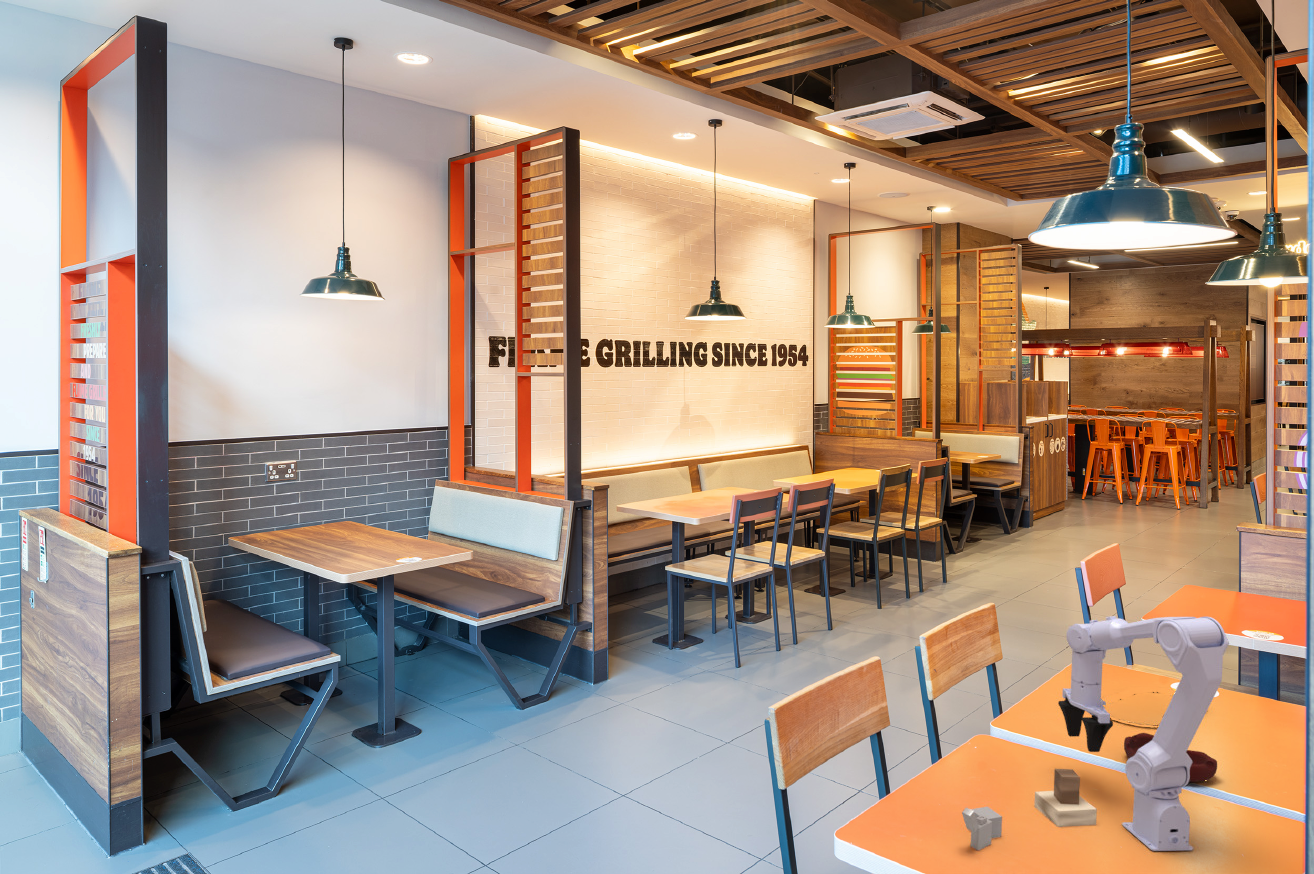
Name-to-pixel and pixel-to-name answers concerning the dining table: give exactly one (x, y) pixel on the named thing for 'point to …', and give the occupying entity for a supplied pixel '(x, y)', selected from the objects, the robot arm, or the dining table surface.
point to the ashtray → (1201, 762)
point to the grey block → (992, 817)
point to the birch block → (1065, 810)
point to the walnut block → (1066, 786)
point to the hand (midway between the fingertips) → (1083, 743)
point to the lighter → (978, 829)
